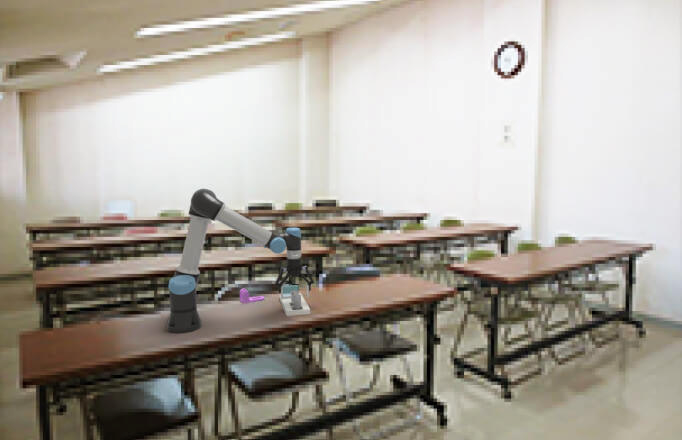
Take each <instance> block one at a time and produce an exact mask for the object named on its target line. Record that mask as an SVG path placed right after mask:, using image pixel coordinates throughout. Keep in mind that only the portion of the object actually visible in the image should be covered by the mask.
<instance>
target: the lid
mask: <svg viewBox="0 0 682 440" xmlns="http://www.w3.org/2000/svg"><path fill="white" fill-rule="evenodd" d="M282 287H283V299H285V298H291V291H299V289H300V288H299V287H300V286H299V284H298V285H297V284H296V285H282ZM299 295H300V294H299Z"/></svg>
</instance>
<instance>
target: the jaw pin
mask: <svg viewBox="0 0 682 440" xmlns="http://www.w3.org/2000/svg"><path fill="white" fill-rule="evenodd" d="M299 293H300V292H299V291H291V306H293V295H299Z"/></svg>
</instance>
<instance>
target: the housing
mask: <svg viewBox="0 0 682 440" xmlns="http://www.w3.org/2000/svg"><path fill="white" fill-rule="evenodd" d="M299 294H300V295H293V306H291V298H283V300H281V294H278V295H279V296H278V297H279V298H278V299H279V301H280V304H281V306H282V309H283V311H284V314H285V316H286V317H291V316H292V317H293V316H304V315H310V314H311V308H310V306H309V305H308V303H307V302H306V301H307V300H305V298H304V296H303V294H302V293H301V292H299Z"/></svg>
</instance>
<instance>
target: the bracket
mask: <svg viewBox="0 0 682 440" xmlns="http://www.w3.org/2000/svg"><path fill="white" fill-rule="evenodd" d="M239 300H240V303H241V302H242V303H243V305H244V303H245V304H250V302H252V303H257V302H256V301H259V302H263V300H264V301H265V296H263V295H259V296H250V292H249V291H248V290H247V289H246V288H241V289H240V290H239ZM242 303H241V304H242Z"/></svg>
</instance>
